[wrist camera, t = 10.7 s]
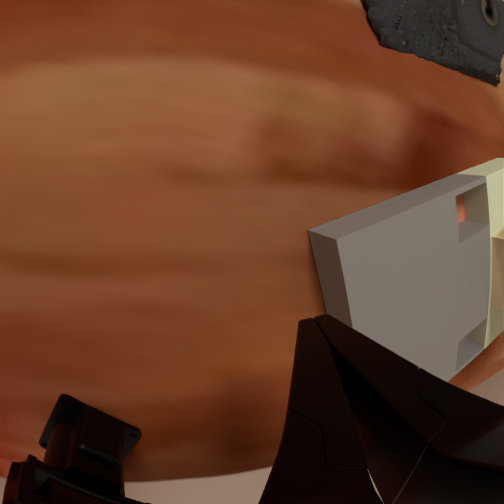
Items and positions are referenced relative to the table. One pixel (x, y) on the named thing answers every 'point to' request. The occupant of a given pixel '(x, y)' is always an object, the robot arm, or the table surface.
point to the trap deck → (419, 269)
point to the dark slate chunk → (444, 32)
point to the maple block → (497, 270)
